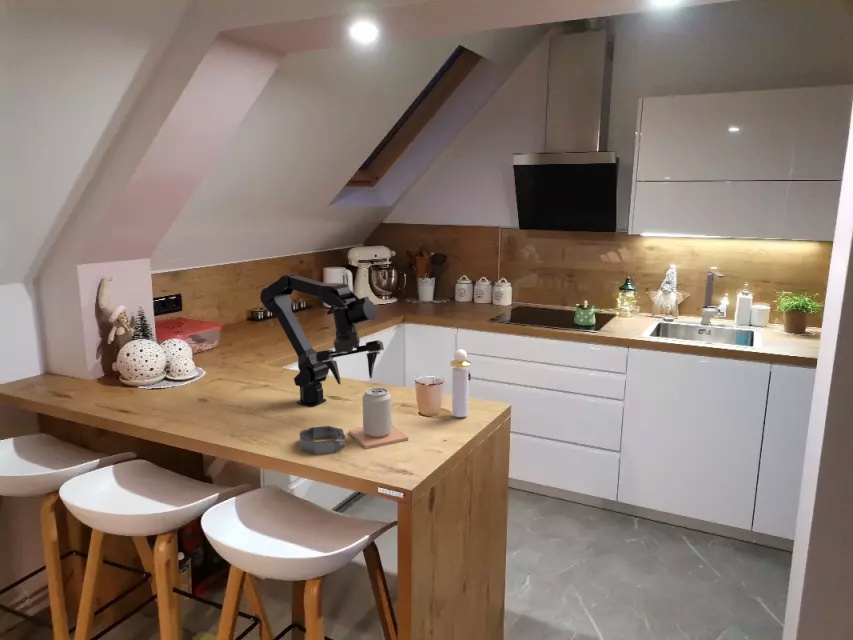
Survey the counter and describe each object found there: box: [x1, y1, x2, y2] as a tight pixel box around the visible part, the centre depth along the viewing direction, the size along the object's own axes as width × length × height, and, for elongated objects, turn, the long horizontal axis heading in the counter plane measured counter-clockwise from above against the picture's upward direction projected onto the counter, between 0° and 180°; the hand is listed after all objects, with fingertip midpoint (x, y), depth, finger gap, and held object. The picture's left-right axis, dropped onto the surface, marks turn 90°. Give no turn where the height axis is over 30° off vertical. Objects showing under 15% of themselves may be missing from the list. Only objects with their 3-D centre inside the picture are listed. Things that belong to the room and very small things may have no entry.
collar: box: [299, 425, 346, 456], centre depth 165 cm, size 13×11×3 cm
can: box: [362, 386, 393, 438], centre depth 170 cm, size 8×8×12 cm
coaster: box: [348, 424, 409, 450], centre depth 171 cm, size 12×12×1 cm
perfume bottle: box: [449, 348, 472, 418], centre depth 183 cm, size 6×6×20 cm
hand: (355, 381), depth 183 cm, fingers open, 9 cm apart
